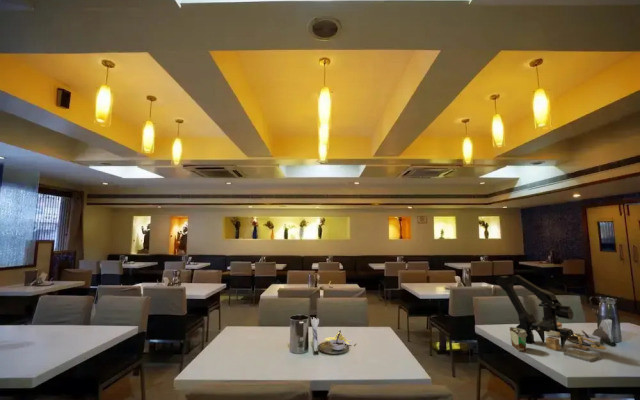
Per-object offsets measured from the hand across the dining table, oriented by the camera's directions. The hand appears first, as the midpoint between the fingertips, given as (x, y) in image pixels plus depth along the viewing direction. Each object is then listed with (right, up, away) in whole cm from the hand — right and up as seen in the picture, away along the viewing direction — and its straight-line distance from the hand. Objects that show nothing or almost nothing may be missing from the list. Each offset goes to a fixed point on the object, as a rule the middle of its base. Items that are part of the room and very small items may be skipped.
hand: (552, 344), depth 170 cm
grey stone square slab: (+6, 0, -12) cm, 13 cm away
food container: (-18, -2, -1) cm, 18 cm away
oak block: (0, -2, 0) cm, 2 cm away
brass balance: (+16, -2, 0) cm, 16 cm away
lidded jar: (+18, -5, +24) cm, 30 cm away
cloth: (-118, -5, +13) cm, 118 cm away
